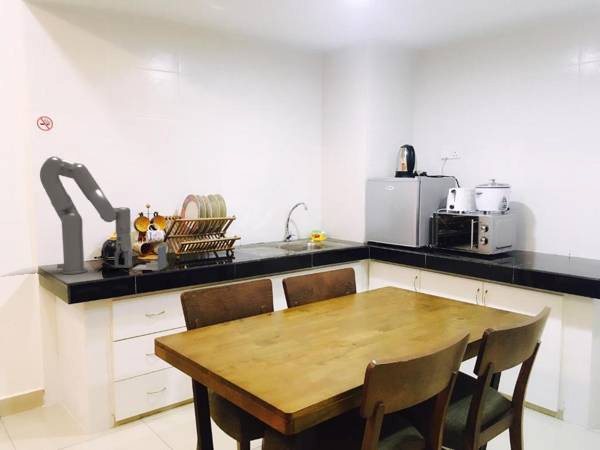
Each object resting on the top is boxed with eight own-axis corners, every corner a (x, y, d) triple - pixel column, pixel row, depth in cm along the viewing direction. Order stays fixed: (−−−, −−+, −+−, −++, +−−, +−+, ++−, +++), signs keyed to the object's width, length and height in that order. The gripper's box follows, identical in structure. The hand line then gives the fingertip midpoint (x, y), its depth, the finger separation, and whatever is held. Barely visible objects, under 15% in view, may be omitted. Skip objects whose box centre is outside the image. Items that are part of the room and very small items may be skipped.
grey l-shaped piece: (132, 270, 262) (131, 247, 261) (139, 266, 273) (138, 244, 271) (160, 270, 261) (159, 248, 260) (166, 266, 272) (166, 245, 271)
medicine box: (132, 266, 270) (132, 251, 270) (128, 268, 266) (128, 252, 265) (118, 266, 271) (118, 250, 270) (114, 267, 267) (114, 251, 266)
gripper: (123, 232, 258) (124, 267, 260) (135, 229, 275) (135, 261, 277) (109, 231, 258) (110, 266, 260) (122, 228, 275) (122, 261, 277)
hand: (123, 263), depth 268 cm, fingers closed on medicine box, 4 cm apart
